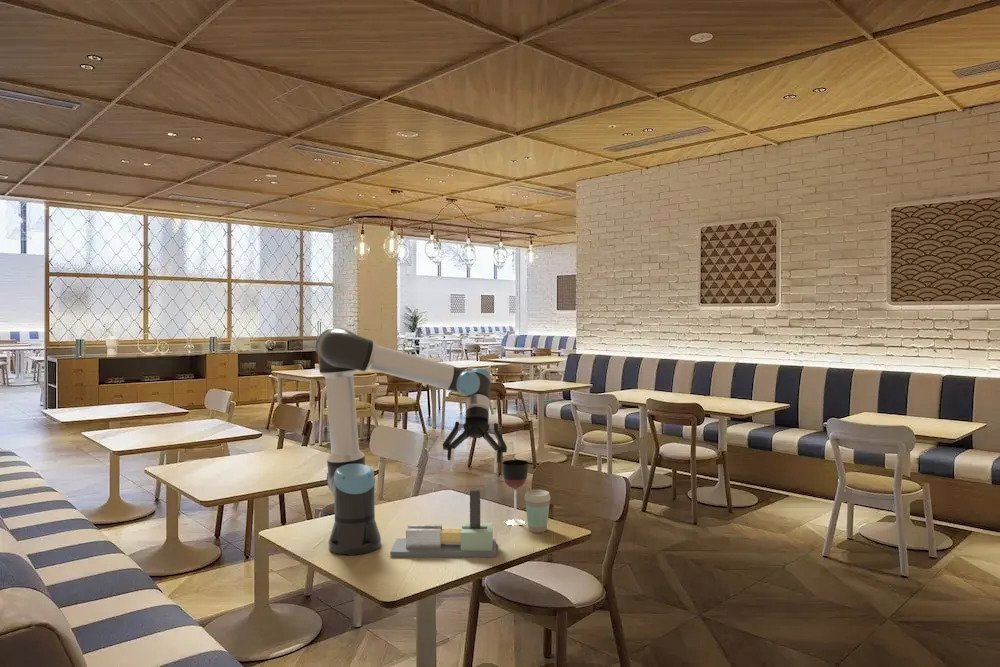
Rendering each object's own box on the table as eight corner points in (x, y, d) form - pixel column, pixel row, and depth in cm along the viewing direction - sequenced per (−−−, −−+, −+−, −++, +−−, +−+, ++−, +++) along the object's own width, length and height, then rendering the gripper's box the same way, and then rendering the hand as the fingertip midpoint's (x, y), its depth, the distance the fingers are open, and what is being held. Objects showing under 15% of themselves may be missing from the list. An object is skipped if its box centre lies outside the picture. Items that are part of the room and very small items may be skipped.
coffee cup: (551, 525, 217) (551, 489, 216) (550, 534, 208) (550, 496, 208) (524, 525, 218) (524, 488, 217) (523, 533, 209) (523, 496, 209)
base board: (390, 557, 190) (390, 551, 190) (396, 543, 201) (396, 538, 201) (495, 557, 189) (495, 552, 189) (496, 543, 200) (496, 538, 200)
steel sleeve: (405, 548, 193) (405, 530, 192) (408, 541, 198) (408, 524, 198) (440, 548, 192) (440, 530, 192) (442, 541, 198) (442, 524, 197)
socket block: (460, 550, 191) (460, 532, 190) (462, 539, 199) (462, 522, 199) (492, 550, 191) (492, 532, 190) (492, 539, 199) (492, 522, 199)
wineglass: (498, 520, 222) (498, 461, 221) (522, 517, 225) (522, 458, 224) (507, 528, 215) (507, 466, 214) (532, 524, 218) (532, 464, 217)
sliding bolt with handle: (437, 543, 193) (436, 491, 193) (438, 539, 197) (437, 488, 196) (485, 543, 193) (485, 491, 193) (485, 539, 196) (485, 488, 196)
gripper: (515, 419, 222) (513, 477, 208) (440, 415, 222) (433, 474, 209) (515, 407, 216) (513, 466, 202) (438, 403, 216) (432, 462, 203)
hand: (473, 470), depth 206 cm, fingers open, 13 cm apart
